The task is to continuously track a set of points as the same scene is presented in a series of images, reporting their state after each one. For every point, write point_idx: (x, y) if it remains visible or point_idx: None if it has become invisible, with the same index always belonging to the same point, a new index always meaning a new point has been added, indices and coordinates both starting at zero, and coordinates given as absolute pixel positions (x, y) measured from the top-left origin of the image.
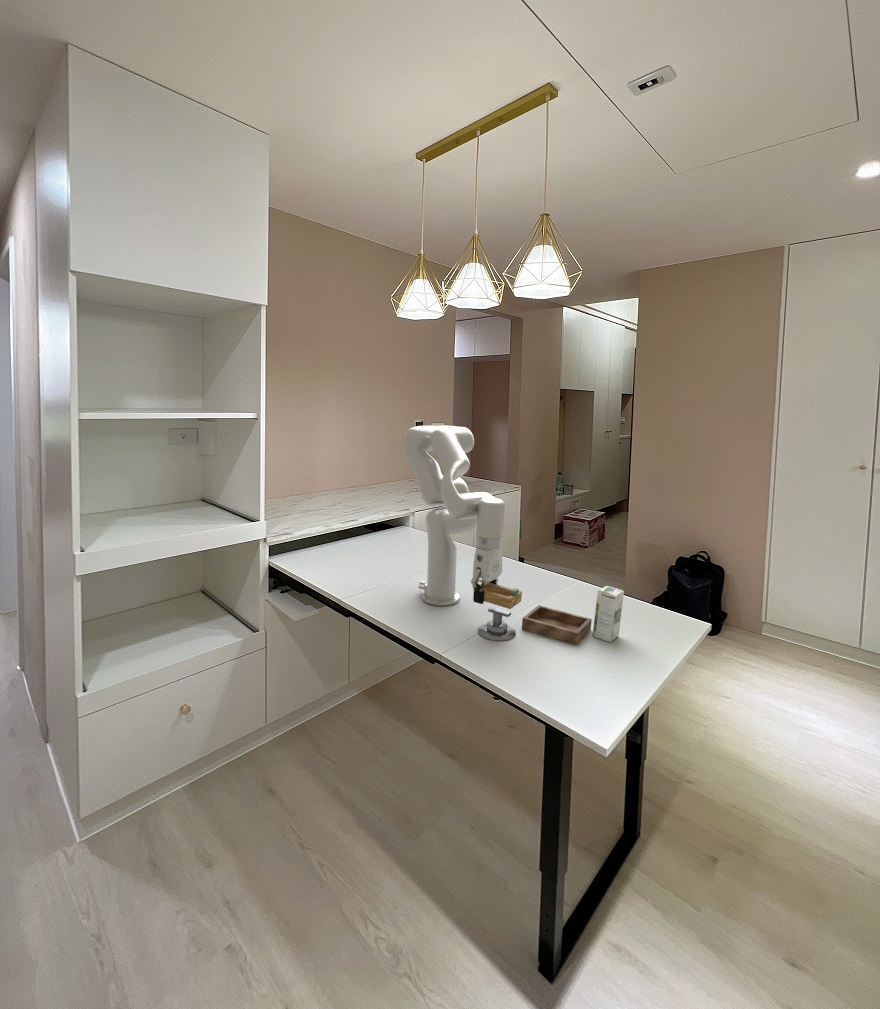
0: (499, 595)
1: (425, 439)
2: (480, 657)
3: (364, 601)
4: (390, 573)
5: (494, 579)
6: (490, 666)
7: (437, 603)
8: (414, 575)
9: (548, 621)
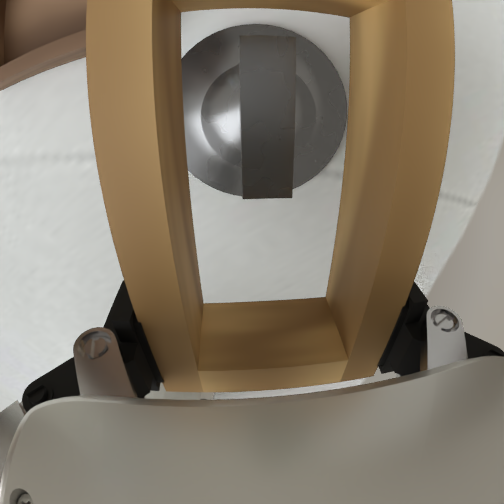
0: (443, 119)
1: None
2: (468, 93)
3: None
4: None
5: (130, 374)
6: (490, 52)
7: None
8: None
9: (26, 16)
